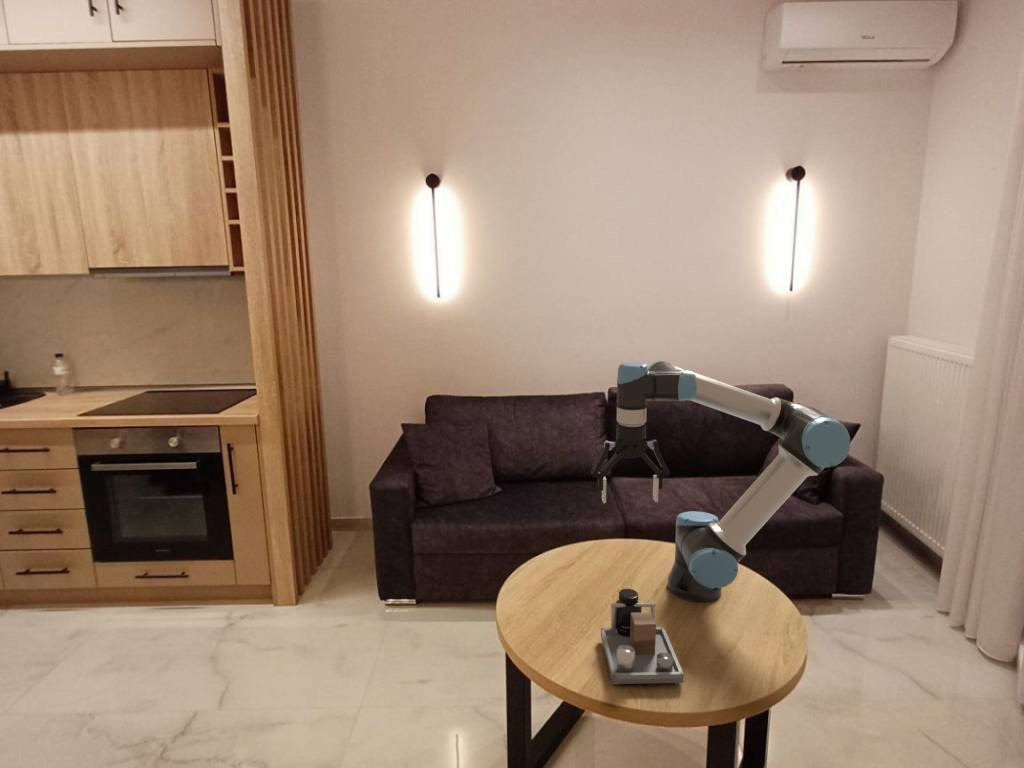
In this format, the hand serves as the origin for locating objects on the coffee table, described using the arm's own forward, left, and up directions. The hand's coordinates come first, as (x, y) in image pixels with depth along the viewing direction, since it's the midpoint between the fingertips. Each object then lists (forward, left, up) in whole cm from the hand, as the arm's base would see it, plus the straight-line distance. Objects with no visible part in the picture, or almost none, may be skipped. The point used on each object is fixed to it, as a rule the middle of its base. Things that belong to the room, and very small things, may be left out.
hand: (629, 500), depth 162 cm
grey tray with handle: (+1, +21, -33) cm, 39 cm away
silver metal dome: (-3, +27, -30) cm, 41 cm away
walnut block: (0, +19, -30) cm, 36 cm away
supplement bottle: (+2, +11, -32) cm, 34 cm away
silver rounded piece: (+6, +27, -30) cm, 41 cm away
